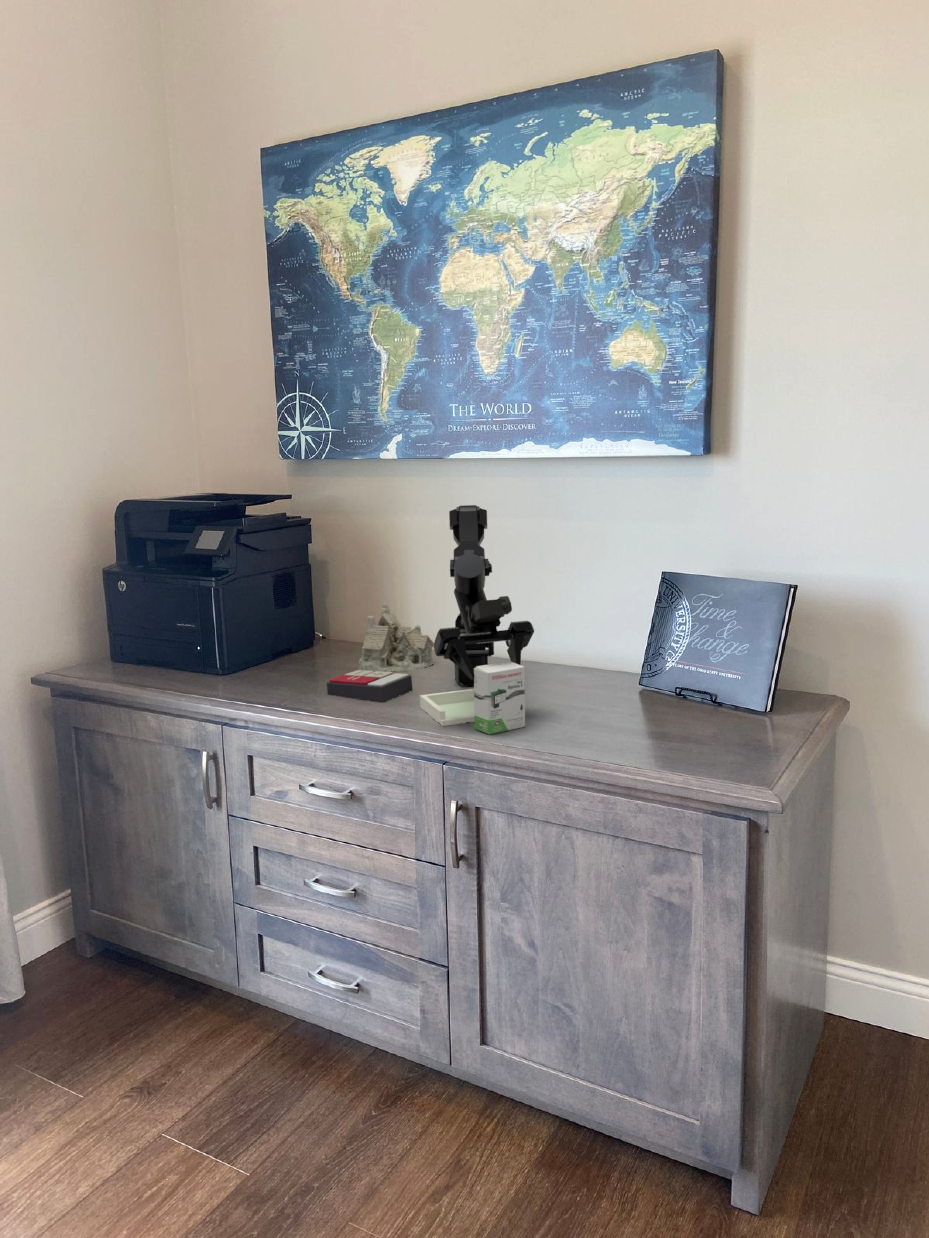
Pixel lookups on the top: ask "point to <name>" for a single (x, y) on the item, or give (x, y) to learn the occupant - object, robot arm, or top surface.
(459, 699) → the bay
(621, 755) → the top surface
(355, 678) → the calculator
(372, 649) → the ceramic cottage
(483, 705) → the ink box
